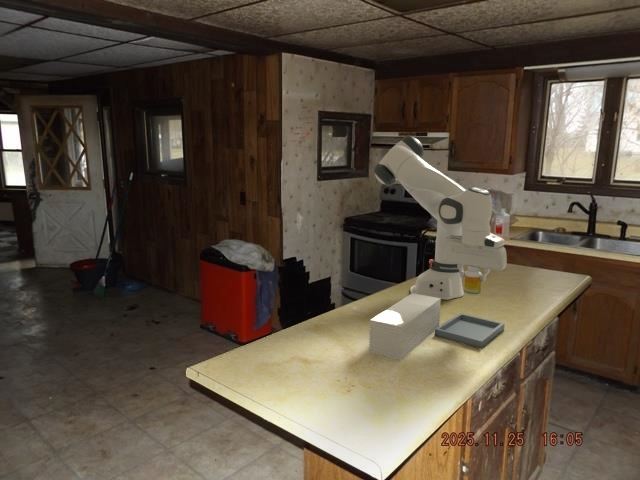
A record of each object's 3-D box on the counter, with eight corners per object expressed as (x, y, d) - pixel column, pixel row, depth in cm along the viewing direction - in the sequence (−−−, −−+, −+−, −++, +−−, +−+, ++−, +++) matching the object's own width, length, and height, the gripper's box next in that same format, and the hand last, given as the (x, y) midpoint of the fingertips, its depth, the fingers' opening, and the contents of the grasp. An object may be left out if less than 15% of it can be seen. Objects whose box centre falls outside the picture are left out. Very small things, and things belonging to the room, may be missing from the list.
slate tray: (481, 348, 149) (481, 341, 149) (434, 335, 160) (434, 328, 159) (504, 330, 164) (504, 323, 164) (460, 319, 175) (460, 313, 174)
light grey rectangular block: (400, 361, 142) (402, 327, 140) (369, 352, 147) (369, 319, 145) (439, 327, 168) (440, 298, 166) (411, 321, 173) (412, 293, 171)
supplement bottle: (481, 296, 156) (483, 267, 154) (464, 295, 157) (465, 267, 155) (479, 291, 161) (481, 263, 159) (462, 290, 163) (464, 263, 161)
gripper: (441, 235, 160) (439, 275, 163) (502, 243, 147) (499, 286, 150) (450, 232, 165) (448, 271, 167) (510, 240, 152) (506, 282, 154)
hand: (472, 278), depth 158 cm, fingers closed on supplement bottle, 5 cm apart
